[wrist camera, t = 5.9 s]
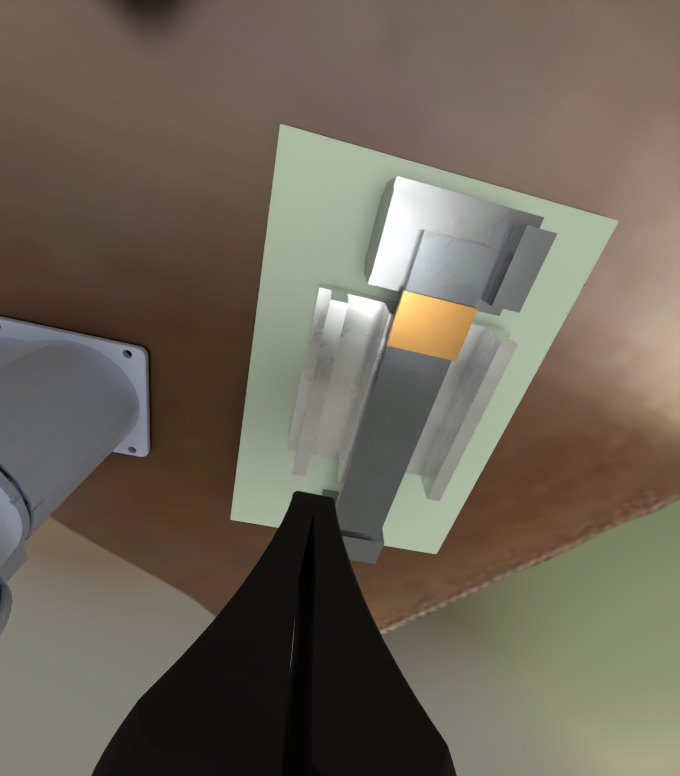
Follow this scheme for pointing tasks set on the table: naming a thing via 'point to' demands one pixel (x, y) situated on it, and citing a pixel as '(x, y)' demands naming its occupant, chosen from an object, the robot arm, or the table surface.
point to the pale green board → (346, 270)
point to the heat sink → (356, 377)
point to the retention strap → (411, 373)
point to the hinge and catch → (461, 221)
